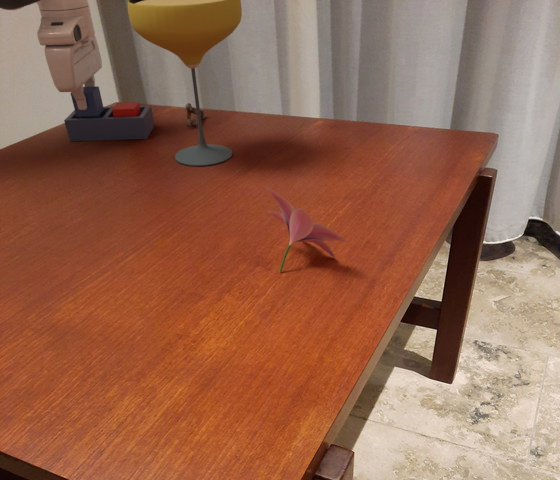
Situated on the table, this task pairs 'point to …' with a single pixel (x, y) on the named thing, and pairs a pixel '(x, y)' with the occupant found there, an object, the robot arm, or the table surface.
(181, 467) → the table surface
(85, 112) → the blue block
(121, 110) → the red block
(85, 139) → the tray
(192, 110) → the brown lumpy upright piece
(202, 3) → the cocktail glass
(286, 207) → the lily
